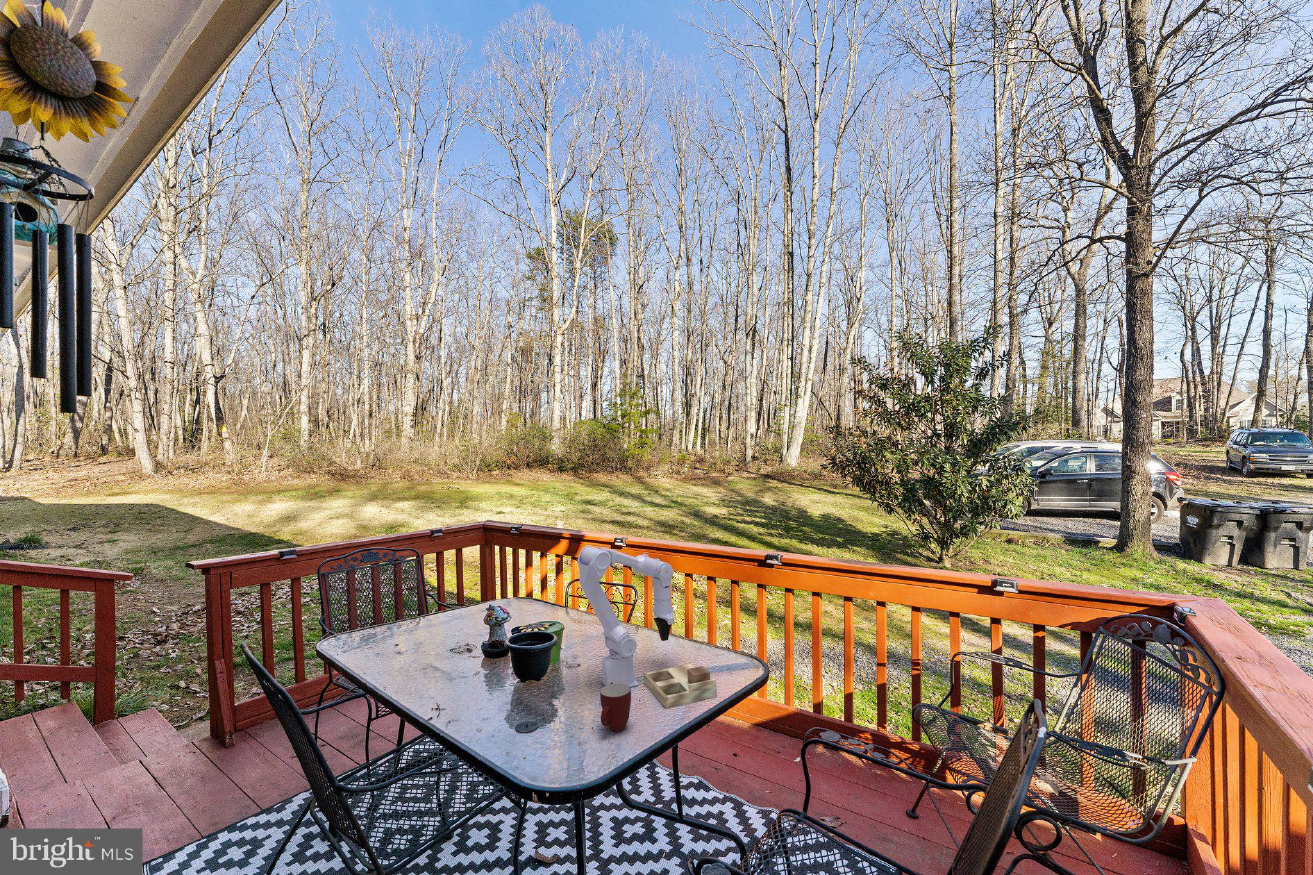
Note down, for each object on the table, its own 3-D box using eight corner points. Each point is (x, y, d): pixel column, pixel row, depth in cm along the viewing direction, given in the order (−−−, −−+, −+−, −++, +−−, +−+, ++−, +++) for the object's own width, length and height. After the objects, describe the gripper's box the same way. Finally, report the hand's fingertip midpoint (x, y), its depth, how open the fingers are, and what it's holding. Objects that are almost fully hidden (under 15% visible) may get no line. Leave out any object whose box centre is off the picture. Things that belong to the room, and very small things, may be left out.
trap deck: (665, 708, 158) (664, 690, 158) (644, 683, 175) (643, 667, 175) (716, 696, 164) (716, 679, 164) (691, 673, 180) (690, 657, 180)
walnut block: (694, 689, 162) (694, 675, 162) (687, 682, 167) (687, 669, 167) (710, 685, 164) (709, 672, 164) (703, 679, 169) (702, 665, 169)
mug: (620, 743, 141) (618, 703, 141) (592, 738, 144) (590, 699, 144) (637, 722, 151) (635, 685, 151) (610, 718, 154) (608, 681, 154)
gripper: (682, 602, 179) (684, 645, 180) (665, 591, 193) (667, 631, 193) (661, 605, 177) (663, 649, 177) (646, 594, 191) (648, 634, 191)
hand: (664, 639), depth 185 cm, fingers closed
